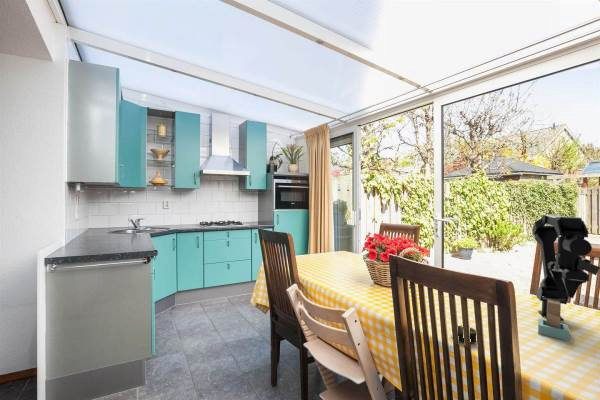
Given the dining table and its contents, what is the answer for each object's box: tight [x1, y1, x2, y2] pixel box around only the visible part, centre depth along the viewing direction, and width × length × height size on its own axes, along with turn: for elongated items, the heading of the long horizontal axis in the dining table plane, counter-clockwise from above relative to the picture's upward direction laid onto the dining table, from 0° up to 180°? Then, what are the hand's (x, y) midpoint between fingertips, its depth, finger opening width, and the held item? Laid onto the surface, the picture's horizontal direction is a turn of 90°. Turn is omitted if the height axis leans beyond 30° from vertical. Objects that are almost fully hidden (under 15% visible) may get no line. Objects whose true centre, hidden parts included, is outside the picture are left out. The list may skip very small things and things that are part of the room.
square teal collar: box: [537, 317, 570, 342], centre depth 105 cm, size 8×8×3 cm
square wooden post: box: [545, 300, 562, 329], centre depth 105 cm, size 4×4×11 cm
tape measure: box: [457, 325, 478, 344], centre depth 97 cm, size 7×7×4 cm
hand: (565, 294), depth 108 cm, fingers open, 9 cm apart
